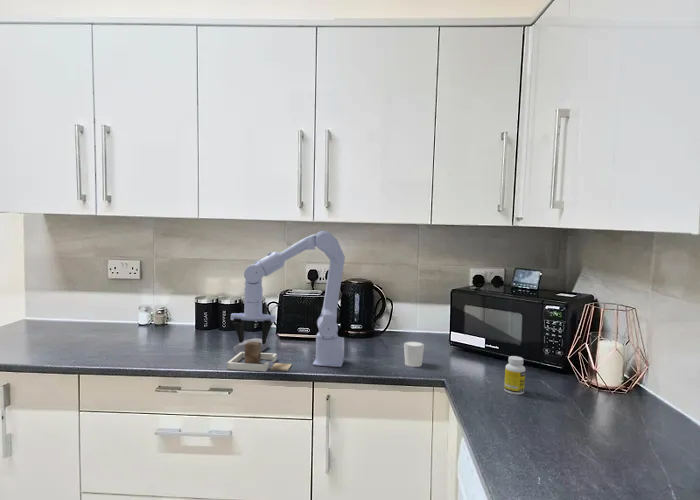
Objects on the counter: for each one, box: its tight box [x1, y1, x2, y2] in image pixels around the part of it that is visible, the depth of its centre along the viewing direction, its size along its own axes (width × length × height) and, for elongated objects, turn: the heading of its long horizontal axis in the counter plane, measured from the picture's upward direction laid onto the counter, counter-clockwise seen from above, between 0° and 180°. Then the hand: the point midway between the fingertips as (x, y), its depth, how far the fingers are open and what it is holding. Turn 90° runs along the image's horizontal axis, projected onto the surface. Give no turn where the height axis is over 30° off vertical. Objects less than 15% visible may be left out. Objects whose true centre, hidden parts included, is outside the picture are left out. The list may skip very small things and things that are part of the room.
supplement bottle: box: [503, 355, 526, 395], centre depth 128 cm, size 5×5×10 cm
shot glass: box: [403, 341, 425, 368], centre depth 151 cm, size 7×7×7 cm
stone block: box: [233, 338, 269, 355], centre depth 163 cm, size 12×5×10 cm
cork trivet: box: [269, 362, 293, 372], centre depth 145 cm, size 6×6×1 cm
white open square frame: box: [226, 352, 278, 373], centre depth 147 cm, size 13×13×2 cm
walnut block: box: [244, 341, 262, 364], centre depth 147 cm, size 4×4×7 cm
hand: (252, 342), depth 147 cm, fingers open, 7 cm apart
